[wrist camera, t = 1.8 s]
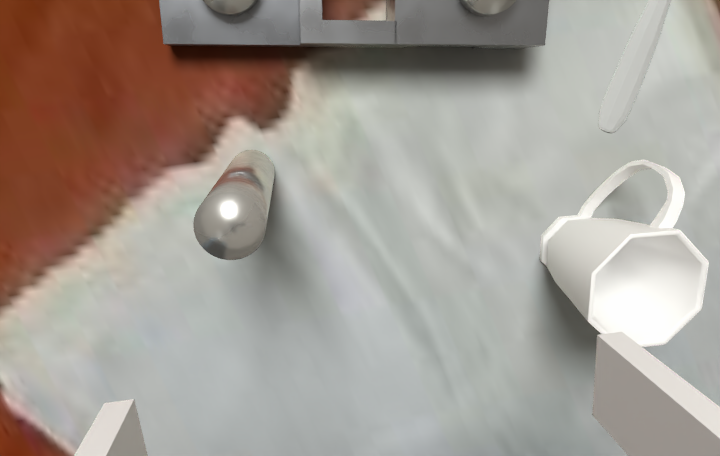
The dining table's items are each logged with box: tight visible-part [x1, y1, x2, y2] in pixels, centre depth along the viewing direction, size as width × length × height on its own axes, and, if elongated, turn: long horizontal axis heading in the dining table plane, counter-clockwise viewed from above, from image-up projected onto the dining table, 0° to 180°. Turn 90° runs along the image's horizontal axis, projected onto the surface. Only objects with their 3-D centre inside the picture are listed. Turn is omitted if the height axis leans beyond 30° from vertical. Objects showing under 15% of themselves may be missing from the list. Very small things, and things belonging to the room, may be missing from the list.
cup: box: [540, 160, 709, 347], centre depth 30 cm, size 7×10×8 cm
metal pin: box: [194, 150, 275, 260], centre depth 25 cm, size 3×3×12 cm
